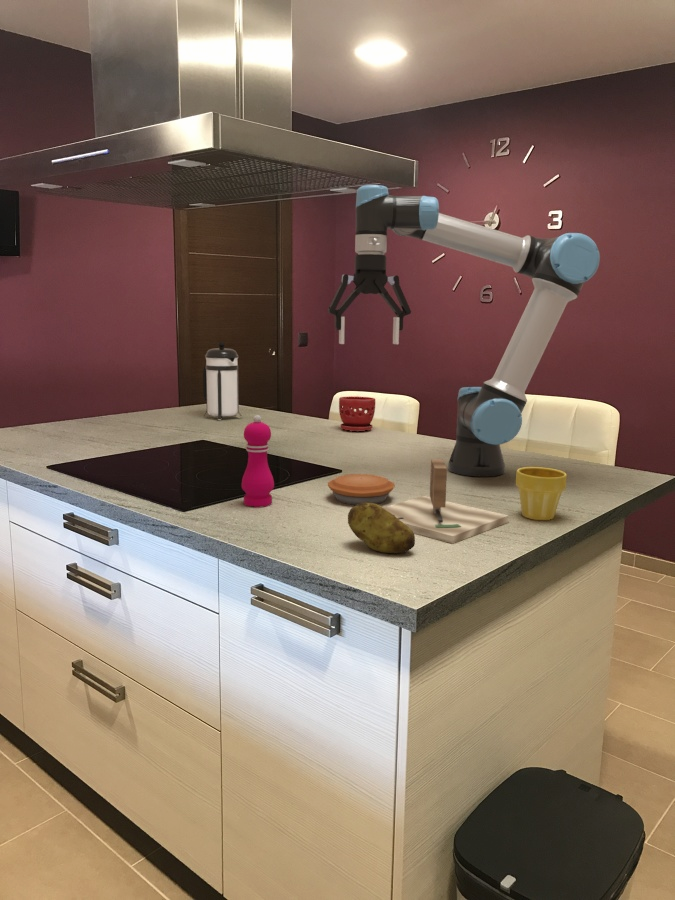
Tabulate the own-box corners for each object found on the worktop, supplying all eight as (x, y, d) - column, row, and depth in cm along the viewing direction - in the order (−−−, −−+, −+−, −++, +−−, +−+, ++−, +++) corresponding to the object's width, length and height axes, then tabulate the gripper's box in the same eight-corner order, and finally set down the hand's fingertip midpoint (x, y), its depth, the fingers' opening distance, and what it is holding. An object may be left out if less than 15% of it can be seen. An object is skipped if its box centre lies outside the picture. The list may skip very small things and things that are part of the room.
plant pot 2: (571, 516, 156) (575, 471, 154) (550, 526, 148) (553, 479, 146) (527, 507, 162) (530, 464, 161) (504, 516, 155) (507, 471, 153)
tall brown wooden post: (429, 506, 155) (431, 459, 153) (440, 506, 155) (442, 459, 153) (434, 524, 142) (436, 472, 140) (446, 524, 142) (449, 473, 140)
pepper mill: (258, 497, 167) (257, 411, 163) (280, 503, 163) (280, 415, 159) (235, 503, 162) (233, 415, 158) (257, 509, 157) (257, 418, 153)
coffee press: (246, 415, 294) (245, 341, 289) (236, 421, 279) (235, 342, 273) (204, 414, 296) (202, 340, 290) (193, 420, 280) (191, 342, 275)
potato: (385, 562, 126) (386, 518, 124) (340, 543, 136) (340, 502, 134) (420, 553, 130) (421, 510, 129) (374, 535, 141) (375, 495, 139)
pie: (331, 489, 176) (331, 469, 175) (395, 492, 174) (395, 472, 174) (323, 506, 161) (323, 484, 160) (393, 509, 159) (394, 487, 158)
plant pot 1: (379, 432, 258) (380, 399, 256) (343, 433, 255) (343, 399, 253) (369, 426, 271) (369, 394, 268) (335, 427, 268) (335, 395, 265)
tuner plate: (423, 502, 165) (423, 495, 165) (508, 522, 150) (508, 514, 150) (365, 519, 151) (365, 511, 151) (452, 543, 136) (452, 535, 136)
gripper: (322, 251, 167) (321, 344, 171) (425, 254, 172) (422, 344, 176) (316, 253, 174) (315, 342, 178) (416, 256, 179) (413, 343, 183)
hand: (368, 344), depth 177 cm, fingers open, 13 cm apart
